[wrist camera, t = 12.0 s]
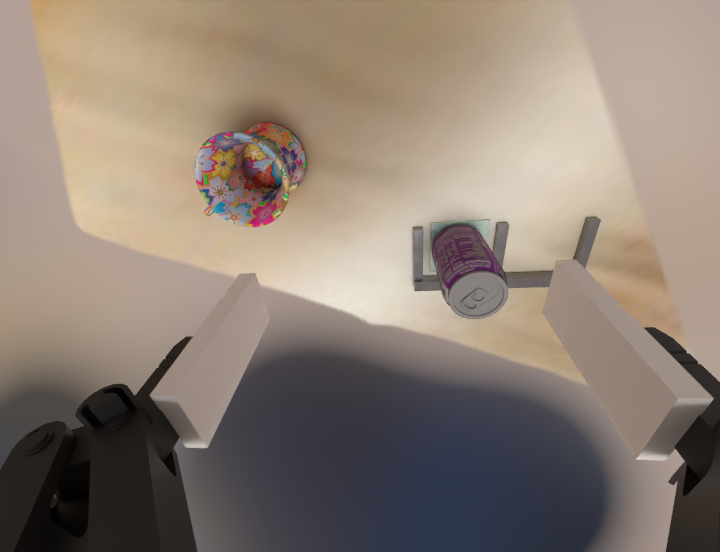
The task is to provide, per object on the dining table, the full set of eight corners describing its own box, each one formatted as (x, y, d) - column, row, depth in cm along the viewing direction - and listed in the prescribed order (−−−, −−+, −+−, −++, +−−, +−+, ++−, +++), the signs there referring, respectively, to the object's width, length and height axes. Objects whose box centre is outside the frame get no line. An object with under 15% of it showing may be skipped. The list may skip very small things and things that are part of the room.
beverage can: (460, 276, 47) (480, 331, 36) (420, 253, 45) (430, 304, 35) (494, 239, 43) (528, 289, 33) (453, 213, 42) (474, 256, 31)
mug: (275, 100, 36) (238, 109, 27) (325, 168, 40) (307, 196, 31) (209, 161, 41) (158, 186, 32) (260, 218, 44) (227, 254, 36)
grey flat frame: (413, 223, 43) (414, 228, 42) (597, 213, 40) (604, 218, 39) (413, 285, 48) (414, 291, 47) (576, 279, 46) (582, 285, 44)
